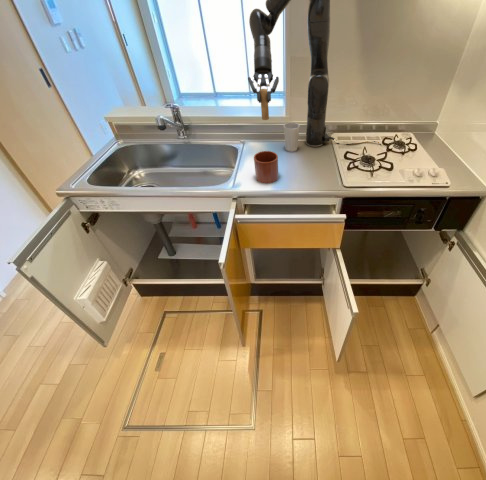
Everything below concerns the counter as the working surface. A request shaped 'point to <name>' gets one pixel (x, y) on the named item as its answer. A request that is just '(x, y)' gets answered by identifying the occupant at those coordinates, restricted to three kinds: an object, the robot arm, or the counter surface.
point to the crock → (266, 166)
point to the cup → (291, 136)
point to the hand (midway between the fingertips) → (264, 101)
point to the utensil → (264, 104)
